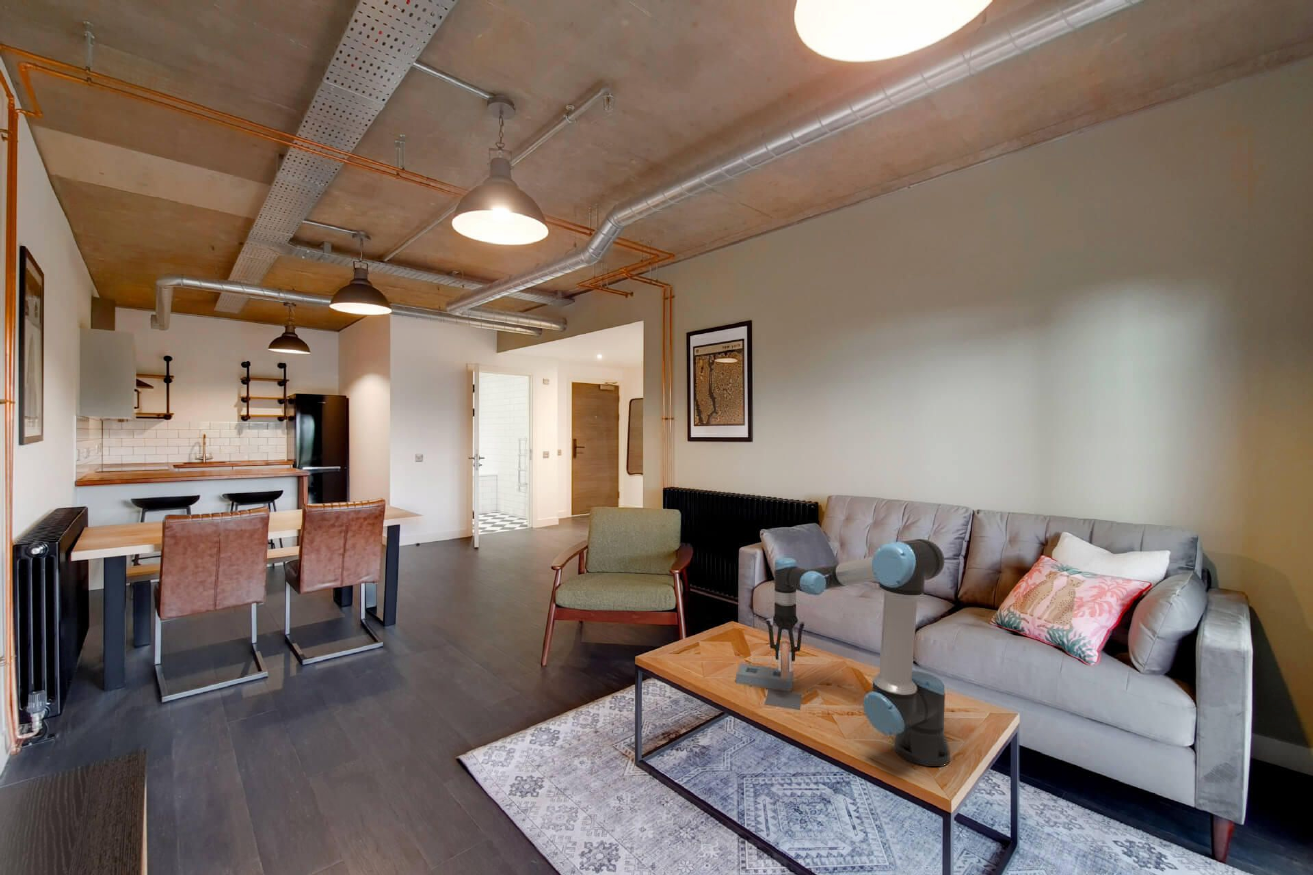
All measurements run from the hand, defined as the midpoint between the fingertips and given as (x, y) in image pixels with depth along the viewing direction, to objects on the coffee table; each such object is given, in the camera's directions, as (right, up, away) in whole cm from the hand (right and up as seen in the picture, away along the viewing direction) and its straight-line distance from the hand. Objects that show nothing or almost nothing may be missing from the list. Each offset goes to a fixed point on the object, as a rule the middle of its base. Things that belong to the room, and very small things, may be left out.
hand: (785, 669), depth 198 cm
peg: (0, -3, 0) cm, 3 cm away
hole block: (-4, -11, +14) cm, 19 cm away
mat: (0, -11, +1) cm, 11 cm away
